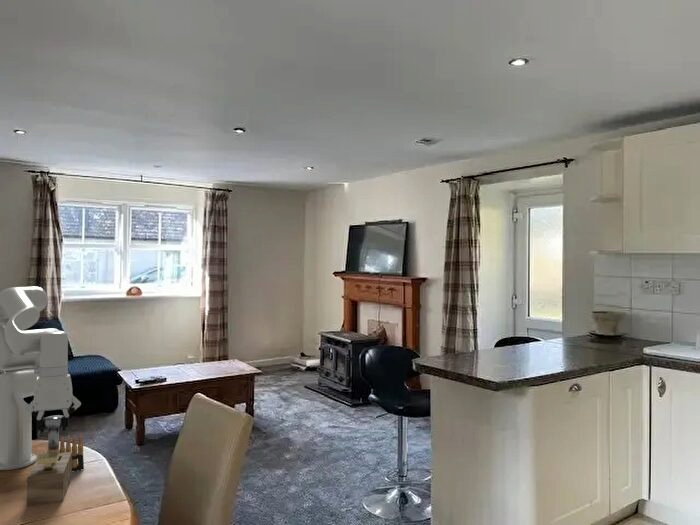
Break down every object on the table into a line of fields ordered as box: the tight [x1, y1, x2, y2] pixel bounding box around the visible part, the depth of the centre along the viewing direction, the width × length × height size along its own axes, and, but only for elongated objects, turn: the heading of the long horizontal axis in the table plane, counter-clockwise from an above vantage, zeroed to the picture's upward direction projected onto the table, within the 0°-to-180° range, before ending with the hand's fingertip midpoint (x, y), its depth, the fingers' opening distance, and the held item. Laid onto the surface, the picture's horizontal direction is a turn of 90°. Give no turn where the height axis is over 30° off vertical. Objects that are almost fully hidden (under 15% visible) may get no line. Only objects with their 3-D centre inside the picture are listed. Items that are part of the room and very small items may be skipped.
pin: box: [44, 414, 64, 450], centre depth 160 cm, size 5×5×10 cm
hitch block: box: [26, 451, 73, 507], centre depth 157 cm, size 18×9×8 cm, turn 21°
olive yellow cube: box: [36, 451, 59, 471], centre depth 153 cm, size 5×5×5 cm
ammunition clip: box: [46, 432, 85, 472], centre depth 171 cm, size 11×2×12 cm, turn 125°
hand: (53, 430), depth 160 cm, fingers closed on pin, 5 cm apart
